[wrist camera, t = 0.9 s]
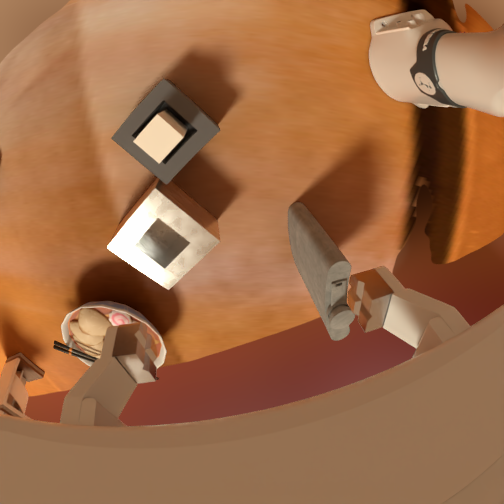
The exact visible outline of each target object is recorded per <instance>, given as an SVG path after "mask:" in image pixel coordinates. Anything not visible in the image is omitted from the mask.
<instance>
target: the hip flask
mask: <svg viewBox="0 0 504 504" xmlns="http://www.w3.org/2000/svg"><path fill="white" fill-rule="evenodd" d="M288 231H289V239H290V245H291V250H292V254H293V258H294V261H295V264H296V266H297V268H298V270H299V273H300V275H301V277H302V279H303V281H304V283H305V285H306V287H307V289H308V291H309V293H310V295H311V297H312V299H313V301H314V303H315V305H316V307H317V309H318V311H319V313H320V316H321V318H322V320H323V322H324V324H325V326H326V328H327V330H328V332H329V334H330V337H331V339H332V340H341V339H343V338H345V337H346V336H347V335H348V334H349V331H350V328H349V324H350V323H351V322H352V321H353V319H354V317H355V314H354V313H353V312H352V310H351V309H350V307H349V306H347V305H348V304H347V289H348V281H349V276H350V272H351V265H350V263H349V262H348V261H347V259H346V258H345V256H344V255H343V254H342V252H341V251H340V250H339V249H338V247H337V246H336V245H335V243H334V242H333V241H332V239H331V238H330V237H329V235H328V234H327V233H326V232H325V230H324V229H323V228H322V227H321V225H320V224H319V223H318V221H317V220H316V219H315V218H314V216H313V215H312V214H311V213H310V211H309V210H308V209H307V208H306V207H305V205H304V204H303V203H300V202H296V203H293V204H292V205H291V206H290V207H289V209H288Z"/></svg>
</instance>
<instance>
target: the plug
mask: <svg viewBox="0 0 504 504" xmlns="http://www.w3.org/2000/svg"><path fill="white" fill-rule="evenodd" d="M186 131H187V127H186V126H185V125H184V124H183V123H182V122H181V121H180V120H179V119H177V118H176V117H175V116H174V115H173V114H172V113H171V112H170V111H168V110H164V111H162V112H160V113H158V114H157V115H156V116H155V117H154V118H153V119H152V120H151V121H150V123H149V124H148V125H147V126H146V127H145V128H144V129H143V131H142V132H141V133H140V134H139V135H138V136H137V138H136V139H135V140H134V141H133V142H134V143H135V144H137V145H138V146H139V147H140V148H141V149H142V150H144V151H145V152H146V153H147V154H148V155H149V156H151V157H152V158H153V159H154V160H155V161H156V162H158V163H159V164H160V162H161V161H162V160H163V159H164V158H165V157H166V156H167V155H168V154H169V153H170V151H171V150H172V149H173V148H174V147H175V146H176V145H177V144H178V143H179V142H180V141H181V140H182V139H183V138H184V136H185V133H186Z"/></svg>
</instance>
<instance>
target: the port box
mask: <svg viewBox="0 0 504 504" xmlns="http://www.w3.org/2000/svg"><path fill="white" fill-rule="evenodd" d="M219 242H220V235H219V228H218V221H217V219H216V218H215V217H213V216H212V215H211V214H210V213H209V212H208V211H206V210H205V209H204V208H203V207H202V206H201V205H199V204H198V203H197V202H196V201H195V200H193V199H192V198H191V197H190V196H189V195H188V194H186V193H185V192H184V191H183V190H182V189H180V188H179V187H178V186H177V185H176V184H175V183H173V182H172V181H170V182H169V183H168V184H167V185H166V184H165V183H164V182H162V181H161V180H160V179H159V178H157V179H156V180H155V181H154V182H153V183H152V185H151V186H150V187H149V188H148V189H147V190H146V192H145V193H144V194H143V195H142V196H141V198H140V199H139V200H138V201H137V202H136V204H135V205H134V206H133V207H132V208H131V210H130V211H129V212H128V213H127V215H126V216H125V217H124V219H123V220H122V221H121V222H120V224H119V225H118V227H117V229H116V231H115V233H114V235H113V237H112V239H111V241H110V243H109V245H108V247H107V248H108V249H110V250H111V251H112V252H114V253H115V254H116V255H118V256H119V257H121V258H122V259H123V260H125V261H126V262H128V263H129V264H131V265H132V266H133V267H135V268H136V269H138V270H139V271H141V272H142V273H144V274H145V275H147V276H148V277H149V278H151V279H152V280H154V281H155V282H157V283H158V284H160V285H161V286H163V287H165V288H166V289H168V290H169V289H170V288H171V287H172V286H174V285H175V284H176V283H177V282H178V281H179V280H180V279H181V278H182V277H183V276H184V275H185V274H186V273H187V272H188V271H189V270H190V269H191V268H192V267H194V266H195V265H196V264H197V263H198V262H199V261H200V260H201V259H202V258H203V257H204V256H205V255H206V254H207V253H209V252H210V251H211V250H212V249H213V248H214V247H215V246H216V245H217V244H218V243H219Z"/></svg>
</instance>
